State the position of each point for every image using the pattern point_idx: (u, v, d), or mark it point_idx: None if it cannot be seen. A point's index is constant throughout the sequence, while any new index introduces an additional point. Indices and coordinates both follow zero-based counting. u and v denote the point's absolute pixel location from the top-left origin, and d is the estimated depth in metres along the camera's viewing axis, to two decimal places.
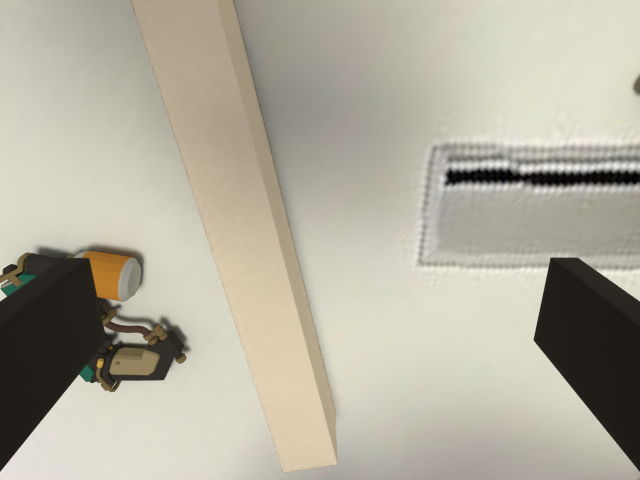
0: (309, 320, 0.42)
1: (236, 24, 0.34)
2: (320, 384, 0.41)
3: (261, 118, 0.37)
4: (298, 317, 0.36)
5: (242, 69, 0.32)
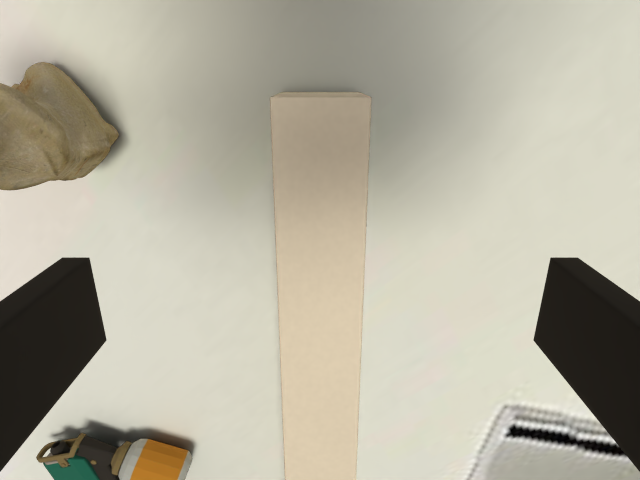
0: None
1: None
2: None
3: None
4: None
5: None
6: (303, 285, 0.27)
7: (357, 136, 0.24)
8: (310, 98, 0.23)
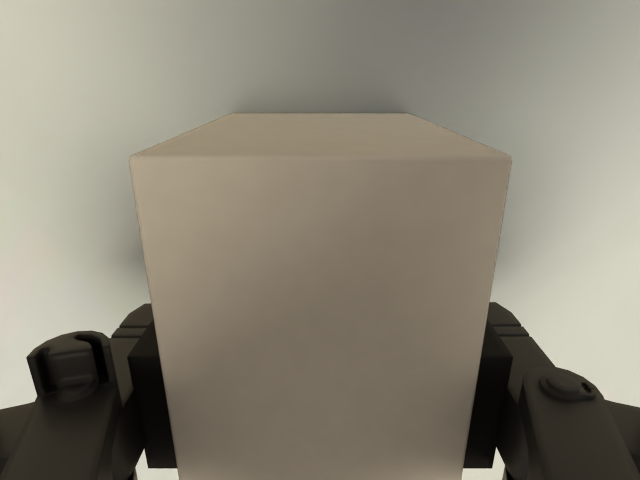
0: None
1: None
2: None
3: None
4: None
5: None
6: None
7: (449, 288, 0.07)
8: (281, 161, 0.06)
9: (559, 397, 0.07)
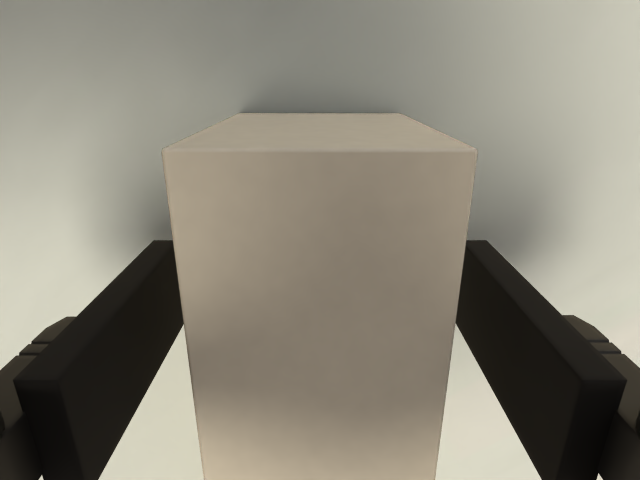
0: None
1: None
2: None
3: None
4: None
5: None
6: None
7: (427, 260, 0.08)
8: (287, 153, 0.07)
9: None
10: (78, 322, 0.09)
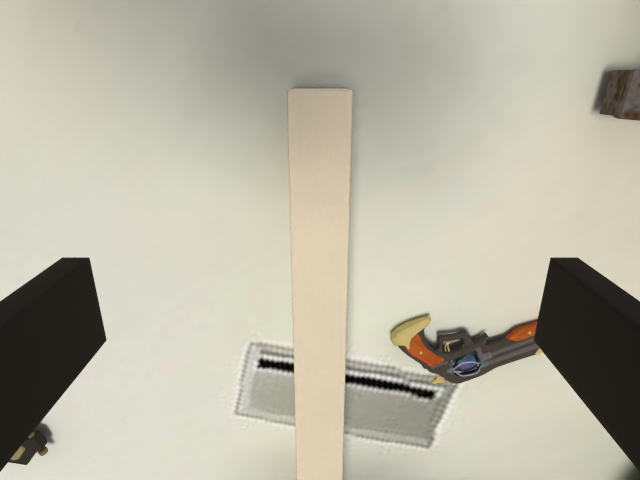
0: None
1: None
2: None
3: None
4: (342, 438, 0.49)
5: None
6: (307, 219, 0.40)
7: (343, 116, 0.37)
8: (313, 91, 0.36)
9: None
10: None
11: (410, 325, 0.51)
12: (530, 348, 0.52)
